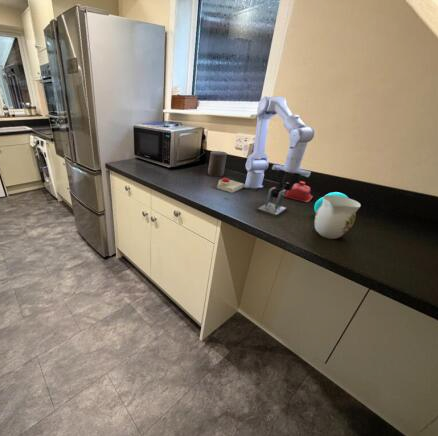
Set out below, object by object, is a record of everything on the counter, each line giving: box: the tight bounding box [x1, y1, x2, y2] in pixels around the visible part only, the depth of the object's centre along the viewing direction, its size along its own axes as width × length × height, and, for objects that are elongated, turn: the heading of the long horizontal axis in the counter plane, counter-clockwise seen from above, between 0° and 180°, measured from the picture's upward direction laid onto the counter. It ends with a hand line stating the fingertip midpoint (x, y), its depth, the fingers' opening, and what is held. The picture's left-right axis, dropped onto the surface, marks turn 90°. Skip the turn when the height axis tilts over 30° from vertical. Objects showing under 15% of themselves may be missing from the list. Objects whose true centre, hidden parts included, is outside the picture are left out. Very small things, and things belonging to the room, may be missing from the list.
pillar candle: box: [207, 150, 228, 178], centre depth 144 cm, size 10×10×15 cm
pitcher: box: [313, 195, 362, 240], centre depth 83 cm, size 11×18×14 cm, turn 127°
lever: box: [272, 181, 290, 199], centre depth 101 cm, size 12×3×3 cm, turn 131°
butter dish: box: [284, 180, 314, 203], centre depth 113 cm, size 12×12×8 cm
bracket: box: [257, 186, 287, 216], centre depth 100 cm, size 10×8×10 cm
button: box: [221, 177, 230, 182], centre depth 124 cm, size 4×4×2 cm
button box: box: [216, 178, 245, 194], centre depth 126 cm, size 12×10×4 cm
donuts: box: [313, 191, 349, 214], centre depth 95 cm, size 10×10×10 cm
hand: (284, 188), depth 104 cm, fingers closed on lever, 3 cm apart
